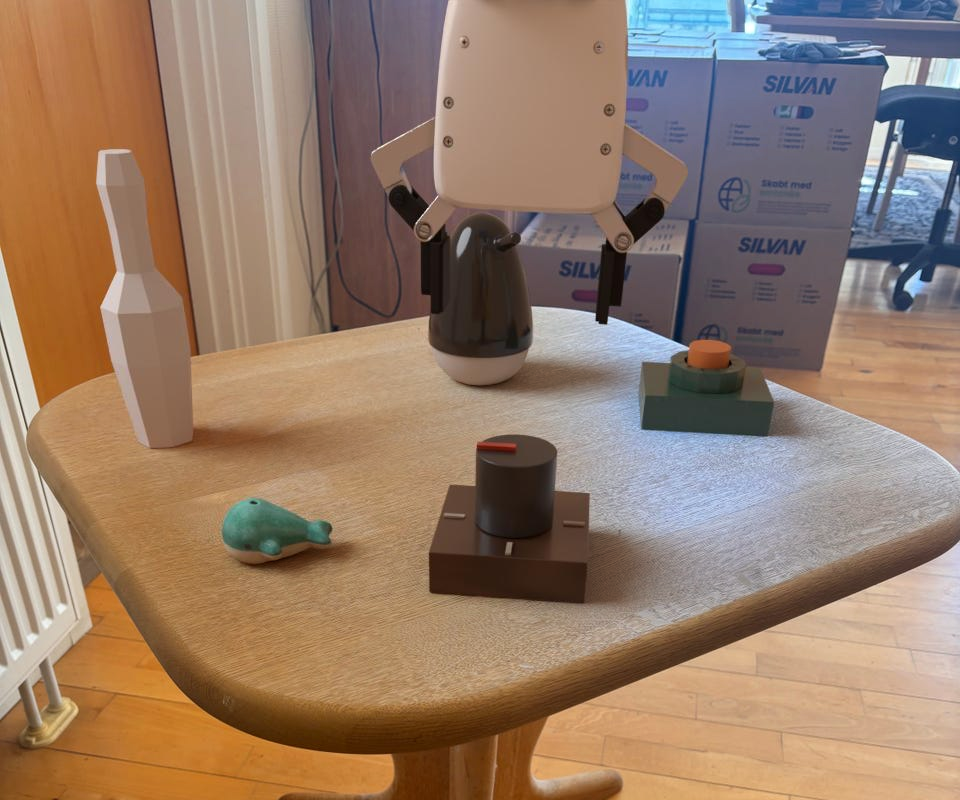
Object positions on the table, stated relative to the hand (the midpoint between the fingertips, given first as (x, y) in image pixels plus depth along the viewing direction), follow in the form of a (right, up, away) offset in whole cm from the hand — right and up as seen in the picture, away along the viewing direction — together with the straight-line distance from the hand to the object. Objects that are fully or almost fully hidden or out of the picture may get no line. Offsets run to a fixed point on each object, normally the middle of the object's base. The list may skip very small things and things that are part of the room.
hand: (520, 313), depth 58 cm
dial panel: (0, -14, +9) cm, 17 cm away
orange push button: (+18, +5, +29) cm, 34 cm away
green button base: (+18, +1, +31) cm, 36 cm away
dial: (0, -11, +7) cm, 13 cm away
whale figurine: (-16, -13, +9) cm, 23 cm away
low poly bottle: (-29, -2, +25) cm, 39 cm away
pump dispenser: (-2, +7, +39) cm, 40 cm away
